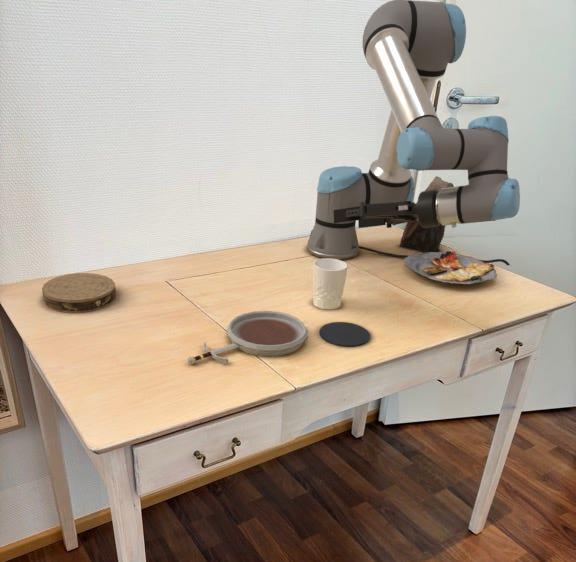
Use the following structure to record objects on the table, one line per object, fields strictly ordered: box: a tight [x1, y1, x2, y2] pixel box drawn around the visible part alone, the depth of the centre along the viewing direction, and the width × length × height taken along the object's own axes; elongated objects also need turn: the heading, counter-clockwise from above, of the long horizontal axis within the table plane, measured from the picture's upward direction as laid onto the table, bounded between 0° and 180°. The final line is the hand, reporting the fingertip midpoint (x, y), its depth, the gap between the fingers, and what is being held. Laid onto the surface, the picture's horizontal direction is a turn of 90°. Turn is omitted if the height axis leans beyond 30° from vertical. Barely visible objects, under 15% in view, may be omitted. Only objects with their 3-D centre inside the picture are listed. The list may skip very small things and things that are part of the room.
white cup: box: [312, 258, 349, 311], centre depth 136 cm, size 8×8×10 cm
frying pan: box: [187, 310, 308, 365], centre depth 119 cm, size 17×3×28 cm
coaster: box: [319, 321, 371, 348], centre depth 126 cm, size 11×11×1 cm
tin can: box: [41, 272, 117, 314], centre depth 134 cm, size 16×16×3 cm
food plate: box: [403, 250, 498, 285], centre depth 160 cm, size 25×23×4 cm
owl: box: [399, 176, 455, 253], centre depth 174 cm, size 13×13×20 cm
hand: (347, 219), depth 132 cm, fingers open, 13 cm apart
